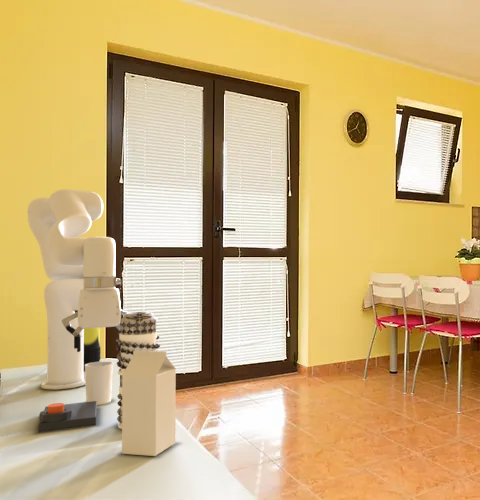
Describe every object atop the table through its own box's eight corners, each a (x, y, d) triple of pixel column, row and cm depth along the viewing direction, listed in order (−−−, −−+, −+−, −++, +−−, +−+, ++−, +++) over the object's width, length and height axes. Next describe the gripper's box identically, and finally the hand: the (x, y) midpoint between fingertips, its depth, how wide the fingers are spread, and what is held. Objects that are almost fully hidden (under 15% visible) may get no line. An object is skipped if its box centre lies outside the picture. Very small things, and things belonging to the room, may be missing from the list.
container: (60, 368, 177) (60, 281, 177) (92, 364, 185) (92, 280, 186) (73, 373, 170) (73, 282, 170) (106, 367, 178) (106, 281, 179)
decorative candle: (116, 420, 118) (116, 311, 119) (159, 415, 122) (159, 310, 122) (114, 432, 110) (114, 315, 110) (160, 427, 113) (160, 313, 114)
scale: (45, 414, 123) (45, 399, 123) (96, 408, 128) (96, 394, 128) (38, 433, 110) (38, 416, 110) (95, 425, 114) (96, 409, 115)
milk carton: (155, 457, 96) (155, 354, 96) (121, 454, 97) (122, 353, 98) (175, 443, 103) (175, 348, 103) (143, 441, 104) (144, 347, 104)
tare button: (48, 411, 115) (48, 403, 115) (64, 409, 116) (64, 402, 116) (46, 415, 112) (47, 407, 112) (63, 413, 113) (63, 405, 113)
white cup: (92, 399, 137) (93, 361, 137) (117, 399, 137) (117, 361, 137) (79, 405, 130) (79, 366, 131) (104, 405, 130) (105, 366, 130)
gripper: (134, 282, 141) (134, 345, 141) (62, 284, 134) (62, 350, 133) (136, 283, 135) (136, 348, 134) (60, 285, 127) (60, 354, 126)
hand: (99, 349), depth 134 cm, fingers open, 9 cm apart
